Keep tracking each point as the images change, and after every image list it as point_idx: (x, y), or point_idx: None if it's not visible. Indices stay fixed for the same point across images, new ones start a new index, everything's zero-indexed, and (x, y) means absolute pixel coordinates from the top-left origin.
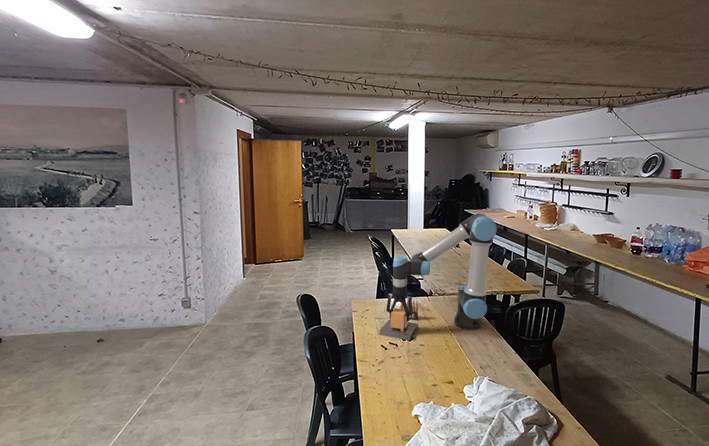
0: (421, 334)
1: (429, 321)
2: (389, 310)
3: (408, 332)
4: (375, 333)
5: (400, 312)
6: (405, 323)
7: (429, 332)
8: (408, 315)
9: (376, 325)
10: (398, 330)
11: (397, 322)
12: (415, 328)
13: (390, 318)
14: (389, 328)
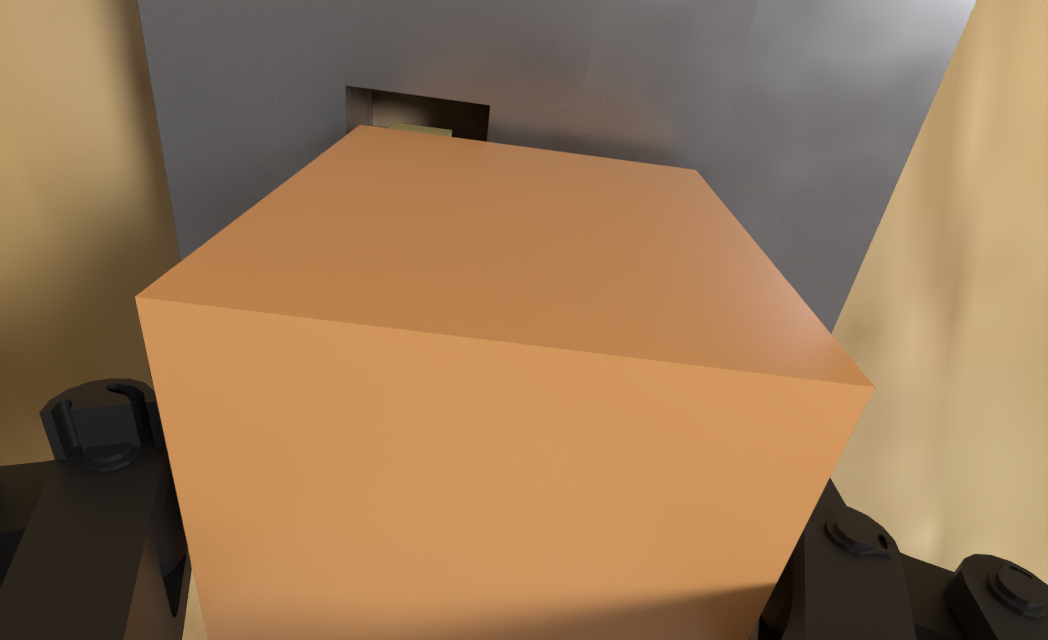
0: (100, 237)
1: (193, 631)
2: (916, 620)
3: (236, 73)
4: (1009, 18)
5: (412, 548)
6: None
7: (23, 344)
8: (73, 441)
9: (945, 379)
10: (491, 120)
11: (512, 192)
12: None
13: None
14: (716, 174)
